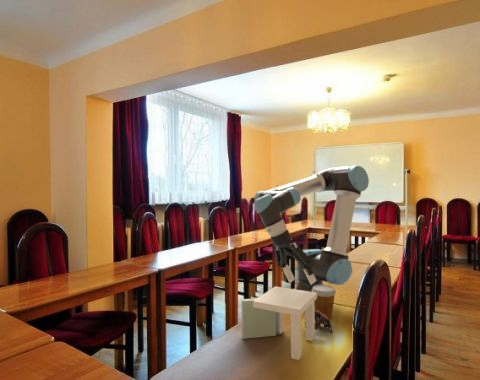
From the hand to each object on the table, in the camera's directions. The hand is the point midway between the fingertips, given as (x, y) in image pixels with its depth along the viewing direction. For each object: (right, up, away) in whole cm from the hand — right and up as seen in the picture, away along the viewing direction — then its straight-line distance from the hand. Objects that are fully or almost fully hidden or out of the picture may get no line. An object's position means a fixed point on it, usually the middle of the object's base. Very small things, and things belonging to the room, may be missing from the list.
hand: (302, 281), depth 126 cm
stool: (-8, -17, -16) cm, 24 cm away
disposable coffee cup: (+10, -16, +6) cm, 20 cm away
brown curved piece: (+5, -17, -5) cm, 18 cm away
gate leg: (-17, -16, -10) cm, 26 cm away
